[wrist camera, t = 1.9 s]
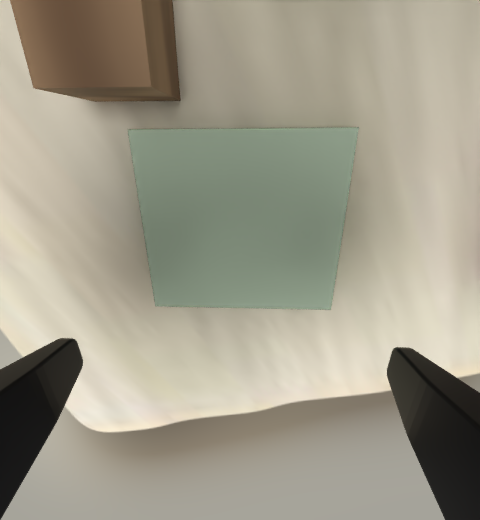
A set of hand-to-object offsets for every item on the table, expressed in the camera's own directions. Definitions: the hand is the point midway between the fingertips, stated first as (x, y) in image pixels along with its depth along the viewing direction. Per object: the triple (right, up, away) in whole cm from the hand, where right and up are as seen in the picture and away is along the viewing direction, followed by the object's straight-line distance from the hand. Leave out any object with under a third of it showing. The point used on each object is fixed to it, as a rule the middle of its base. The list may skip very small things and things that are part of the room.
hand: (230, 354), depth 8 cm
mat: (0, +5, +11) cm, 12 cm away
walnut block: (-6, +14, +7) cm, 17 cm away
